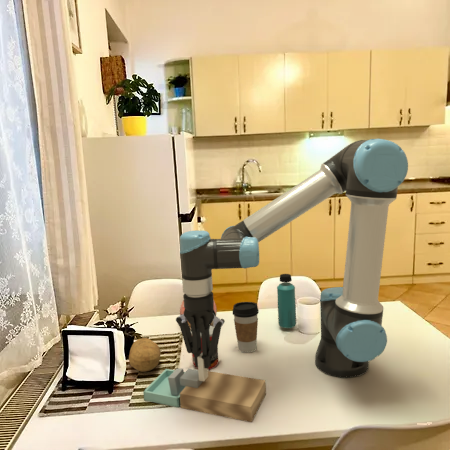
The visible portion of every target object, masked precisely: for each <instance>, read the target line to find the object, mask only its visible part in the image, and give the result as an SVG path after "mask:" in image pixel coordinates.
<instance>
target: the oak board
mask: <svg viewBox="0 0 450 450" xmlns="http://www.w3.org/2000/svg"><path fill="white" fill-rule="evenodd" d="M266 387H267V385H266V380H265V379H260V378H254V377H247V376H242V375H237V374H236V375H235V374H227V373H222V372H218V371H212V370H211V371H210V370H208V377H207V378H206V380H205V381H203V382H202V383H201V385H200V386H199V387H198V388H193V387H188V386H186V387H185V388H184V389H183V390H182V391H181V393H180V403H181V406H180V408H181V409H186V410H188V411H190V410H191V411H195V412H199V413H205V414H209V415H214V416H220V417H224V418H229V419H233V420H239V421H244V422H249V423H253V420H254V419H255V417H256V414H257V413H258V411H259V409H260V406H261V405H262V403H263V401H264V399H265V397H266V395H267V388H266Z"/></svg>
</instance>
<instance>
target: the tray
mask: <svg viewBox="0 0 450 450" xmlns="http://www.w3.org/2000/svg"><path fill="white" fill-rule="evenodd" d="M175 370H176V369H174V370H173V369H169V368H165V369H164V370H163V371H162V372H161V373H160V374H159V375H158V376H157V377H156V378H155V379H154V380H153V381H152V382H151V383H150V384H149V385H148V386H147V387H146V388H145V389H144V390H143V392H142V393H143V394H142V395H143V400H144V401H146V402H151V403H156V404H161V405H164V406H165V405H166V406H169V407H170V406H171V407H174V408H175V407H176V408H181V403H180V394H179V395H178V396H175V395H171V390H170V386H169V381H168V377H169V376H170V375H171V374H172V373H173V372H174V371H175ZM185 372H186V371H184V373H185Z"/></svg>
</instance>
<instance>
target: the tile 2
mask: <svg viewBox="0 0 450 450" xmlns="http://www.w3.org/2000/svg"><path fill="white" fill-rule="evenodd" d="M184 372H185V373H184V374H183V375H182V376H181V377H180V385H182V386H188V387H193V388H198V387H199V386H200V385H201V383H202V382H203V381H199V373H198V369H195V368H194V369H193V368H187V369H186V370H185V371H184Z"/></svg>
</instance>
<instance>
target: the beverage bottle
mask: <svg viewBox="0 0 450 450" xmlns="http://www.w3.org/2000/svg"><path fill="white" fill-rule="evenodd" d="M279 282H280V283H279V284H278V285H277V287H276V289H277V290H276V291H277V293H276V294H277V317H278V318H277V320H278V321H277V322H278V326H280V327H281V328H285V329H292V328H295V327H296V326H297V306H296V304H297V303H296V286H295V285H294V284H293V283H292V275H291V274H289V273H282V274H280V275H279Z"/></svg>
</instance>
